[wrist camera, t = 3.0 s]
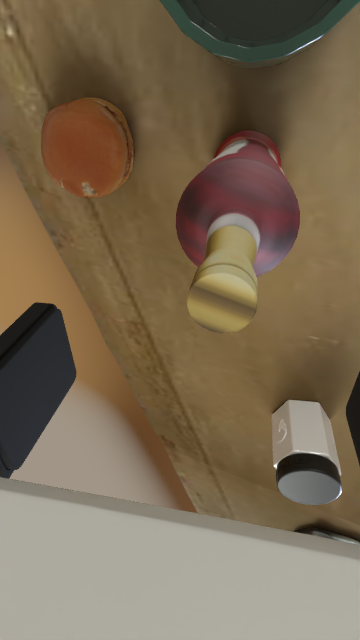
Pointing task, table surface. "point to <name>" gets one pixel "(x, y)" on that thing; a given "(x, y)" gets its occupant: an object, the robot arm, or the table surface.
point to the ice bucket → (257, 26)
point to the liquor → (235, 229)
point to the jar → (305, 453)
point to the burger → (87, 147)
